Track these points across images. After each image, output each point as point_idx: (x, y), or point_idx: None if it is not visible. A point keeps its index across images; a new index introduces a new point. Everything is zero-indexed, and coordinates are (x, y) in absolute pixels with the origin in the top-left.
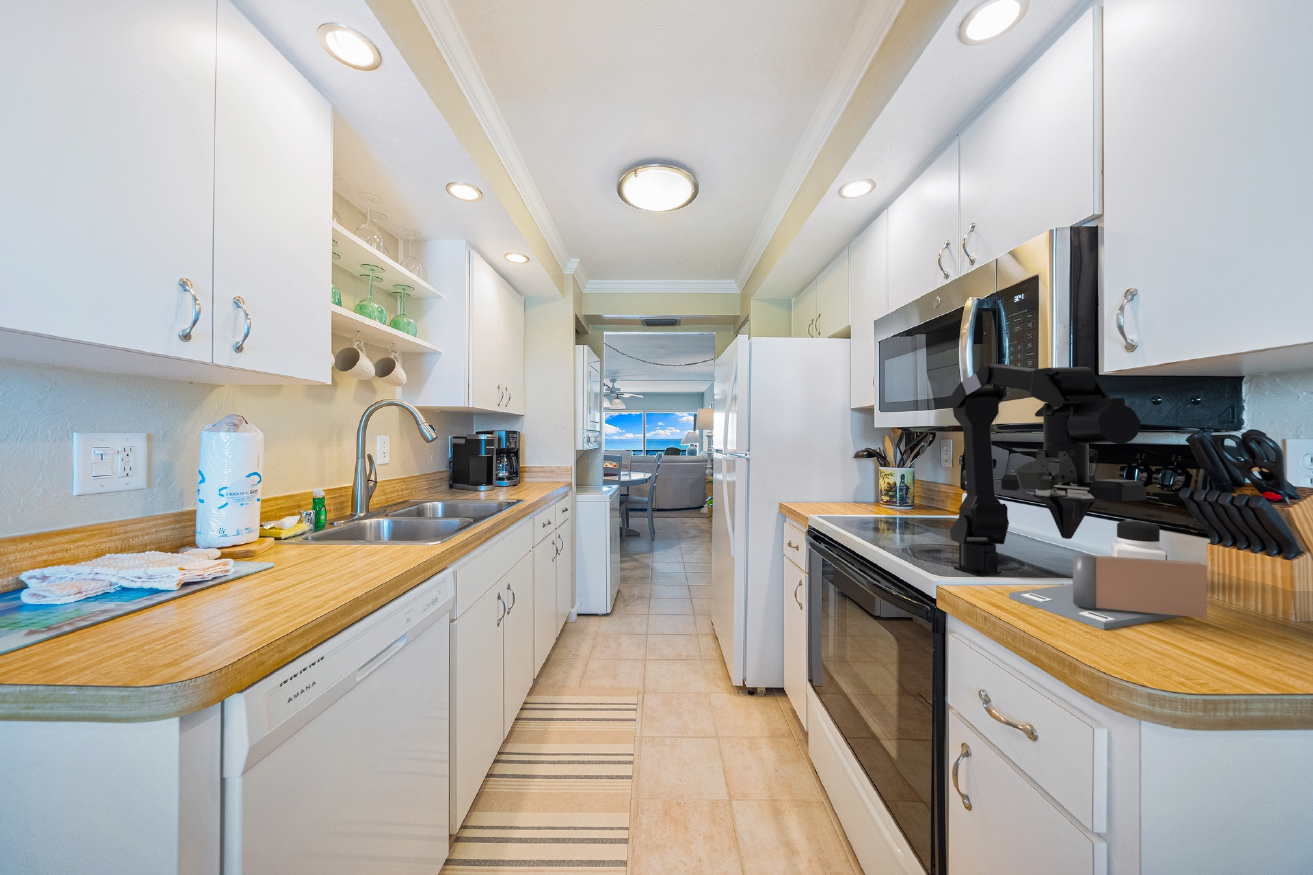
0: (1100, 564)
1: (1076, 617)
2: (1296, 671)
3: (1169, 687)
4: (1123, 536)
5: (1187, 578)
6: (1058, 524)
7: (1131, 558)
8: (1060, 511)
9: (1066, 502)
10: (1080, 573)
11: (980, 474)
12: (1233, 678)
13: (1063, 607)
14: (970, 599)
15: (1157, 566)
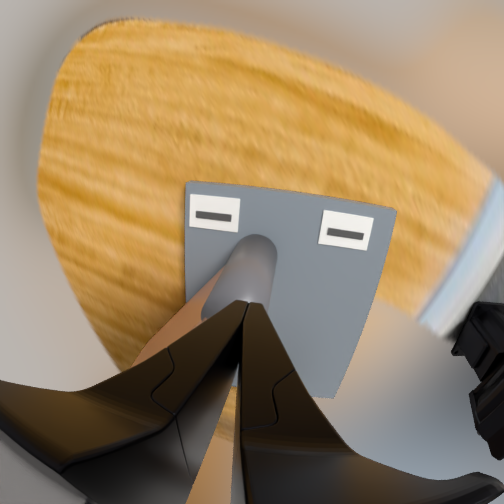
0: (200, 314)
1: (239, 186)
2: (56, 249)
3: (68, 61)
4: None
5: None
6: (262, 337)
7: None
8: (238, 419)
9: (43, 405)
10: (238, 267)
11: None
12: (55, 159)
13: (278, 211)
14: (425, 123)
15: None
